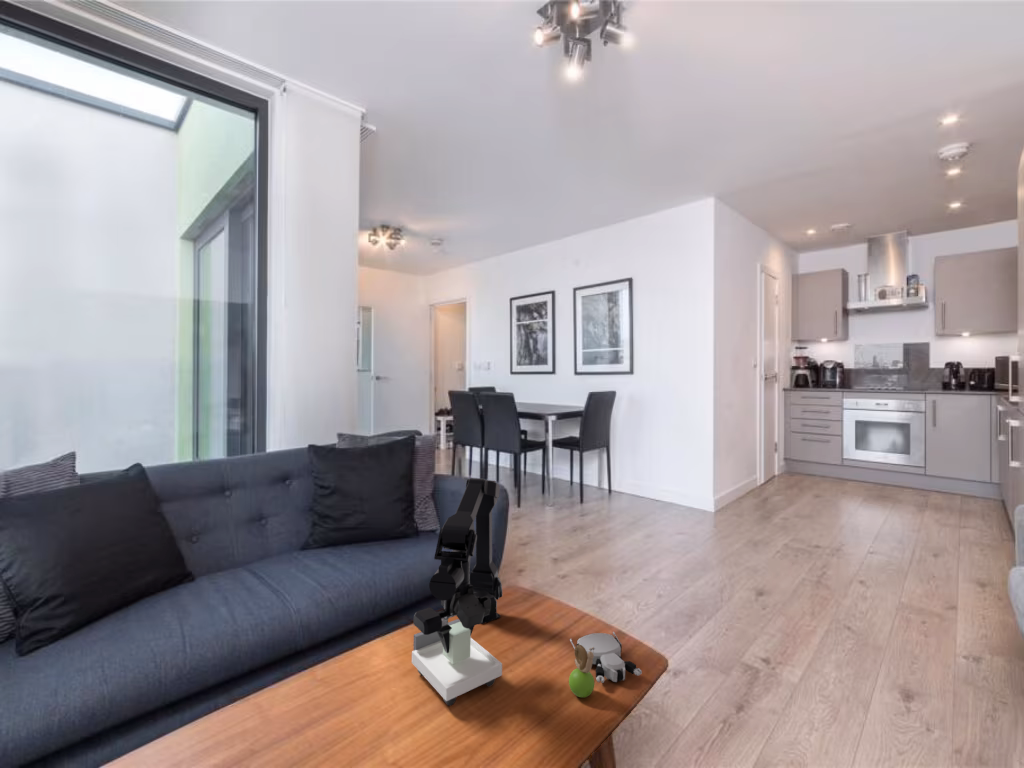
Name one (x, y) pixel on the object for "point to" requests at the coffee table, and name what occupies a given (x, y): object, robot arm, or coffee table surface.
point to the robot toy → (607, 656)
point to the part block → (458, 643)
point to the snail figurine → (582, 673)
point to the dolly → (453, 666)
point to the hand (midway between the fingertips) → (456, 648)
